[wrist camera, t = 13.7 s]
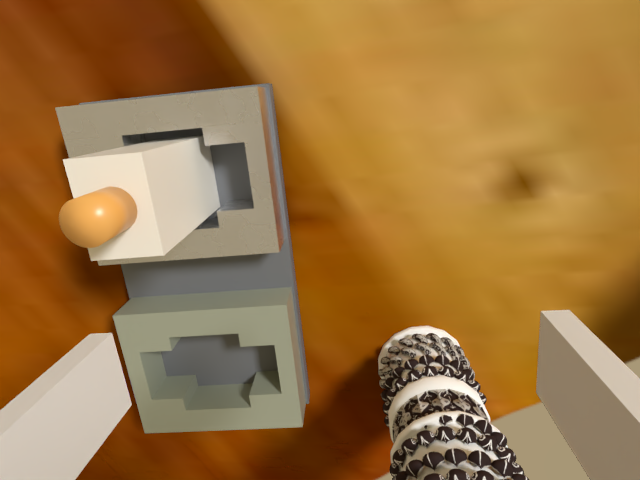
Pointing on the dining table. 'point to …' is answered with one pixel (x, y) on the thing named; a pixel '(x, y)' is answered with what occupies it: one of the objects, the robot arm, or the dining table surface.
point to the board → (222, 272)
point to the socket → (218, 128)
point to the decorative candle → (439, 412)
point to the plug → (139, 197)
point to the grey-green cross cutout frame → (183, 391)
